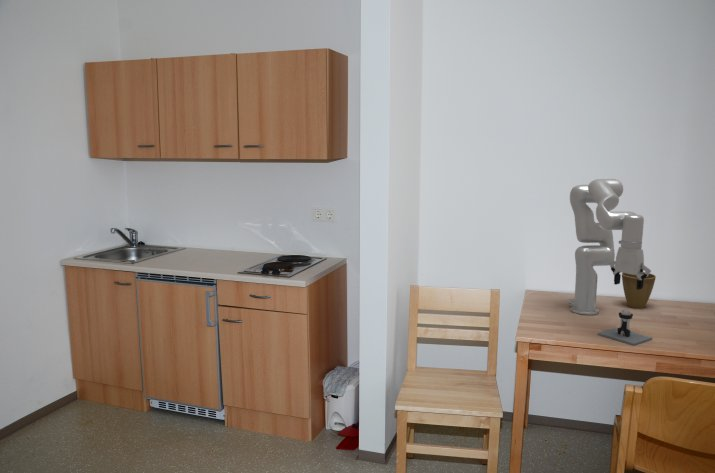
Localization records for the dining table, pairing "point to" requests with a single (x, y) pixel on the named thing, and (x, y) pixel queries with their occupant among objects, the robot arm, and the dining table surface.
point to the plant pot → (637, 296)
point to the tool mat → (631, 340)
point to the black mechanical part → (625, 323)
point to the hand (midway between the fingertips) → (628, 286)
